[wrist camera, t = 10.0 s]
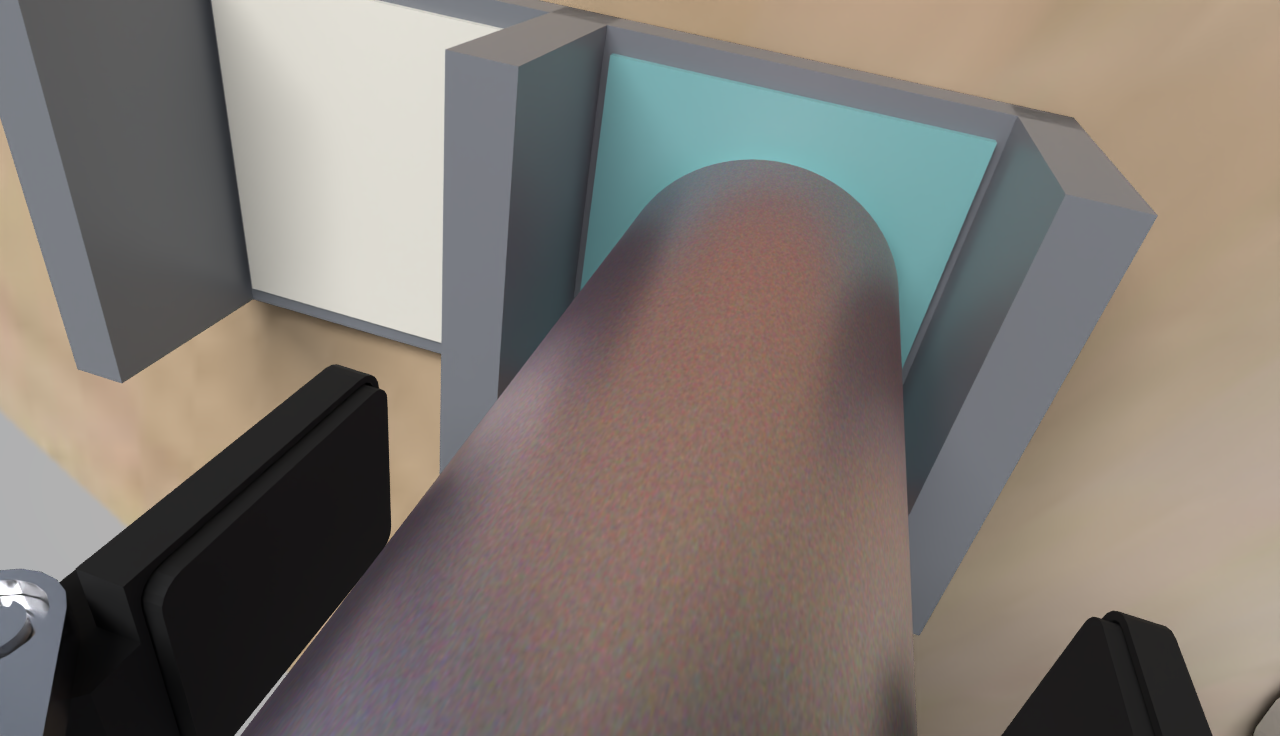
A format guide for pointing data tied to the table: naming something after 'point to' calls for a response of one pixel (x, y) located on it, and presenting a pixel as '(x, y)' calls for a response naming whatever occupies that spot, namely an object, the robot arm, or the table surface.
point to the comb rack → (537, 197)
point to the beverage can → (661, 503)
